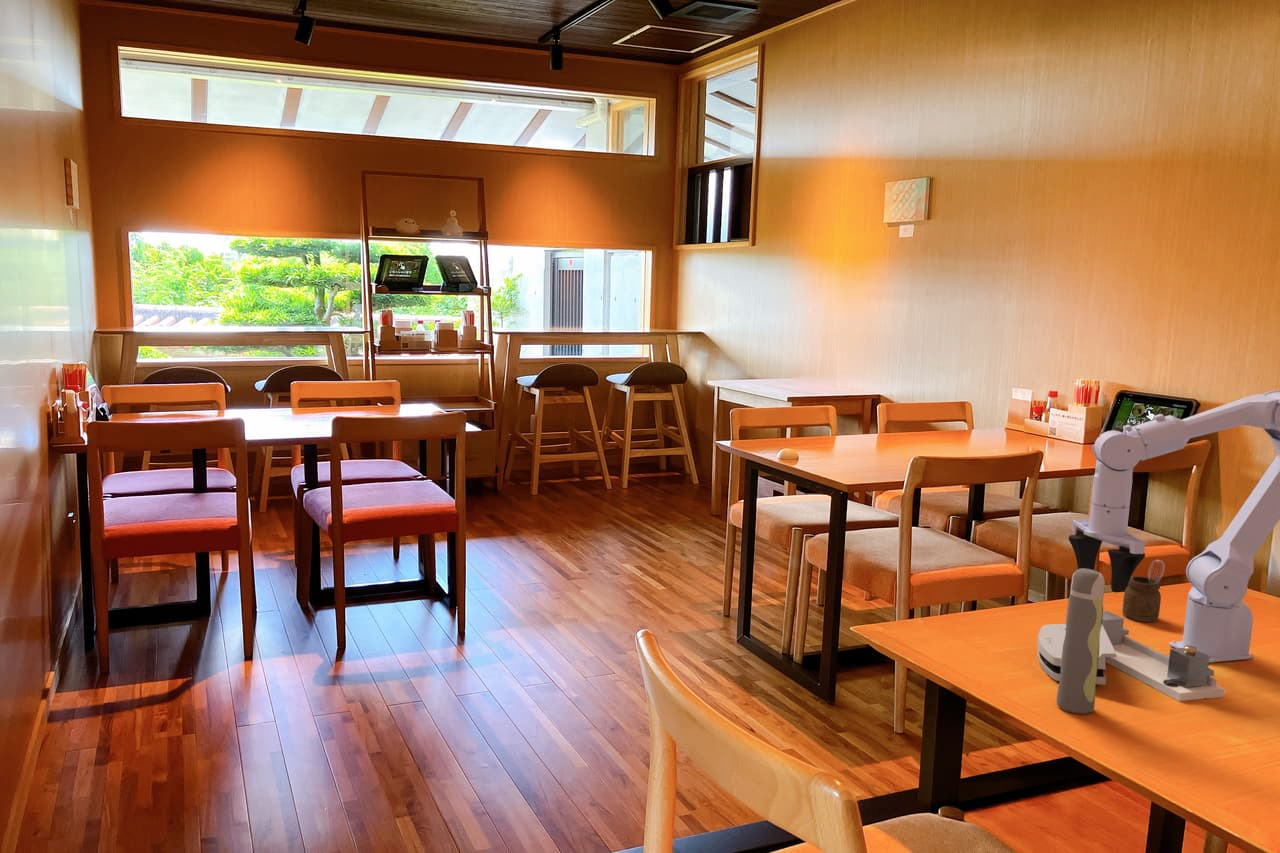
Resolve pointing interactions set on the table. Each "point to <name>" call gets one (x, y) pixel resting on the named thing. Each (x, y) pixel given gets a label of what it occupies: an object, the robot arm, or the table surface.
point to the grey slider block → (1188, 667)
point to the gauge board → (1150, 664)
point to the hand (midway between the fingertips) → (1101, 584)
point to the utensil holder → (1142, 598)
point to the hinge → (1053, 645)
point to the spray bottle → (1081, 642)
